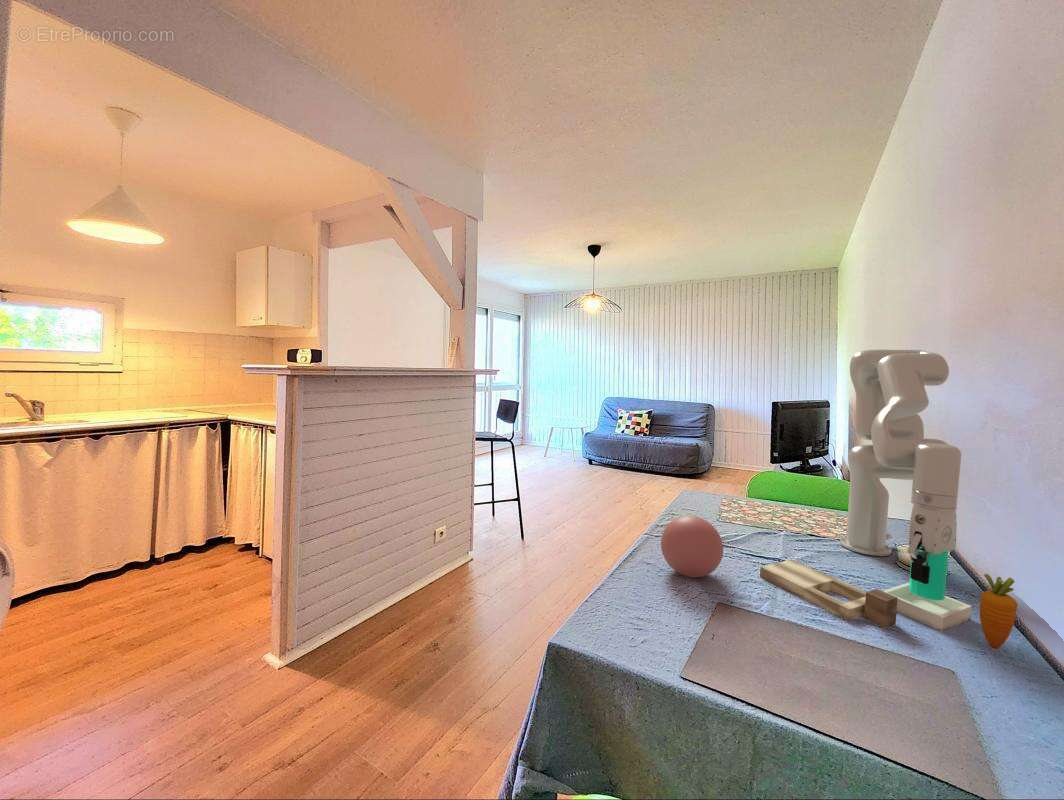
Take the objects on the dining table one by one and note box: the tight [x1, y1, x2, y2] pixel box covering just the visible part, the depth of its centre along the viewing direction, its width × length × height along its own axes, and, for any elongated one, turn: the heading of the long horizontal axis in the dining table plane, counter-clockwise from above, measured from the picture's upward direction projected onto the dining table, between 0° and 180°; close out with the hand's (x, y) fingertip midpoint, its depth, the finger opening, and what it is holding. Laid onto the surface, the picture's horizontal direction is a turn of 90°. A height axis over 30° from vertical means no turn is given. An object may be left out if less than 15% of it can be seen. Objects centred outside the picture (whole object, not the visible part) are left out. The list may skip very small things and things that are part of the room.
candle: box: [909, 547, 949, 600], centre depth 100 cm, size 6×6×12 cm
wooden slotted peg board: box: [759, 558, 867, 621], centre depth 109 cm, size 12×22×2 cm, turn 24°
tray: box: [882, 581, 973, 632], centre depth 101 cm, size 12×12×3 cm
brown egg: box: [660, 515, 724, 578], centre depth 118 cm, size 15×20×15 cm
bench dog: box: [863, 588, 898, 629], centre depth 96 cm, size 4×4×6 cm
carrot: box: [979, 573, 1018, 650], centre depth 87 cm, size 5×5×15 cm
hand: (927, 577), depth 100 cm, fingers closed on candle, 5 cm apart
